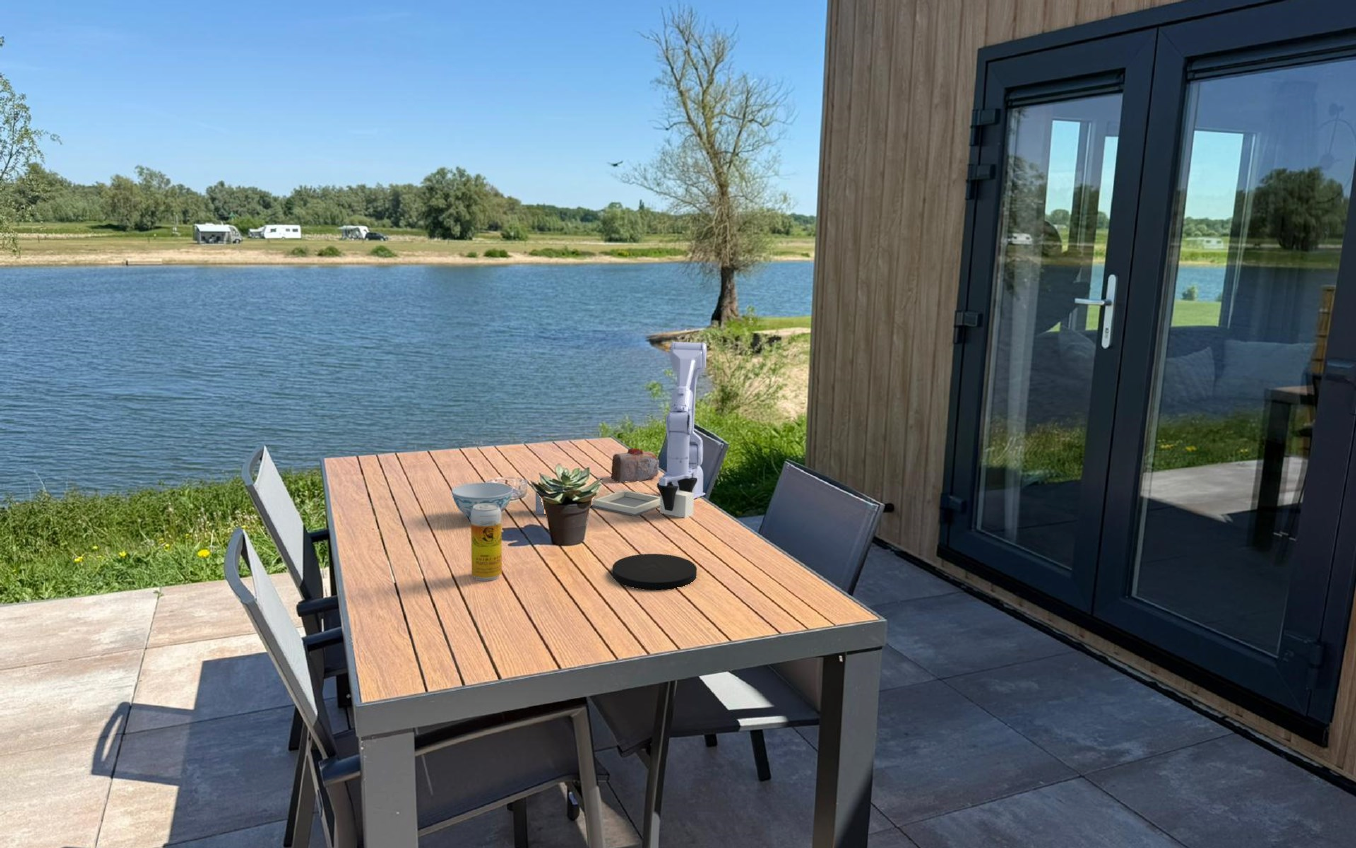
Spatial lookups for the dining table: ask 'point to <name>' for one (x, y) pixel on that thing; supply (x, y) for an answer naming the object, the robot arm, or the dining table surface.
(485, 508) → the beer can
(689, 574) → the wireless charger
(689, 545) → the dining table surface
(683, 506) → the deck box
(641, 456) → the food item
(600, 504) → the shallow square tray
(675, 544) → the dining table surface
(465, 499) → the chinaware
